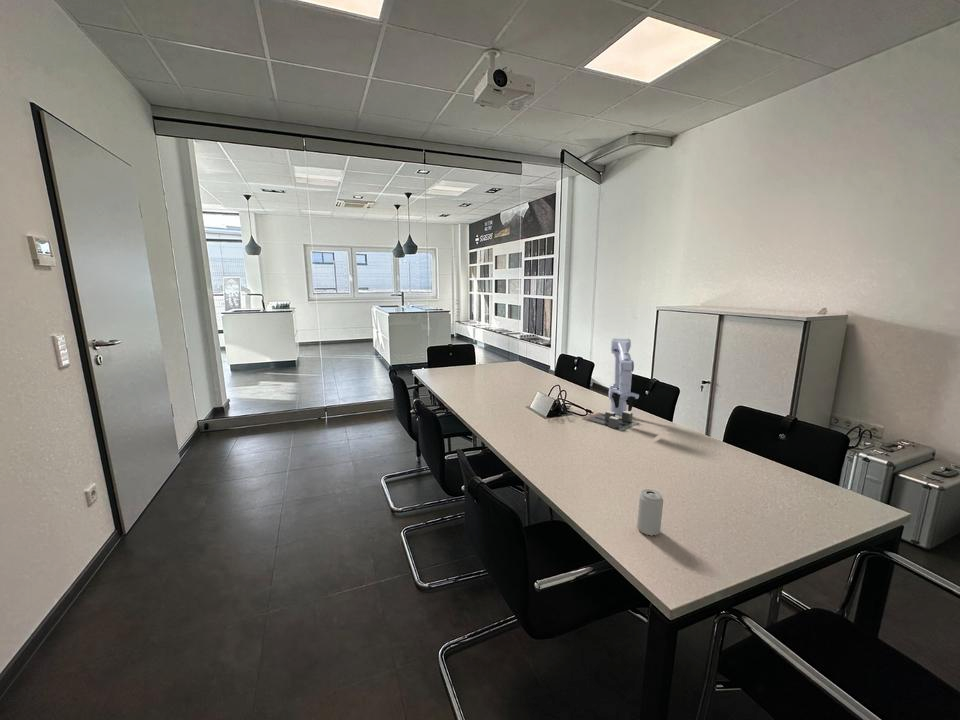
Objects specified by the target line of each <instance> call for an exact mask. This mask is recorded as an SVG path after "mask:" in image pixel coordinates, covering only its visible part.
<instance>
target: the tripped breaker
mask: <svg viewBox="0 0 960 720" xmlns="http://www.w3.org/2000/svg"><path fill="white" fill-rule="evenodd" d="M604 414H605V421H609V417H611V416H613V417H616V416H617V415H616V413H615V412H611V411H610V410H607V411H605V412H604Z"/></svg>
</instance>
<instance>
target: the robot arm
mask: <svg viewBox="0 0 960 720" xmlns="http://www.w3.org/2000/svg"><path fill="white" fill-rule="evenodd" d="M631 346H632V341H631V339H630V338H614V337H613V338H612V339H611V342H610V350H611V352H610V353H611V354H613V355H614V383H612V384H610V385H609V388H608V399H609V400H610V410H609V411H611V412H615V413H616V415H615V416H620V417H622V412H623V411H628V412H632V408H633V406H634V404H635V403H636V401H637V400H638V399H639V397H640V394H638V393H635V392H631V389H632V377H633V372H634V368H635V363H634V360H633V359H632V357H631V354H630V353H629V351H630V350H631Z"/></svg>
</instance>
